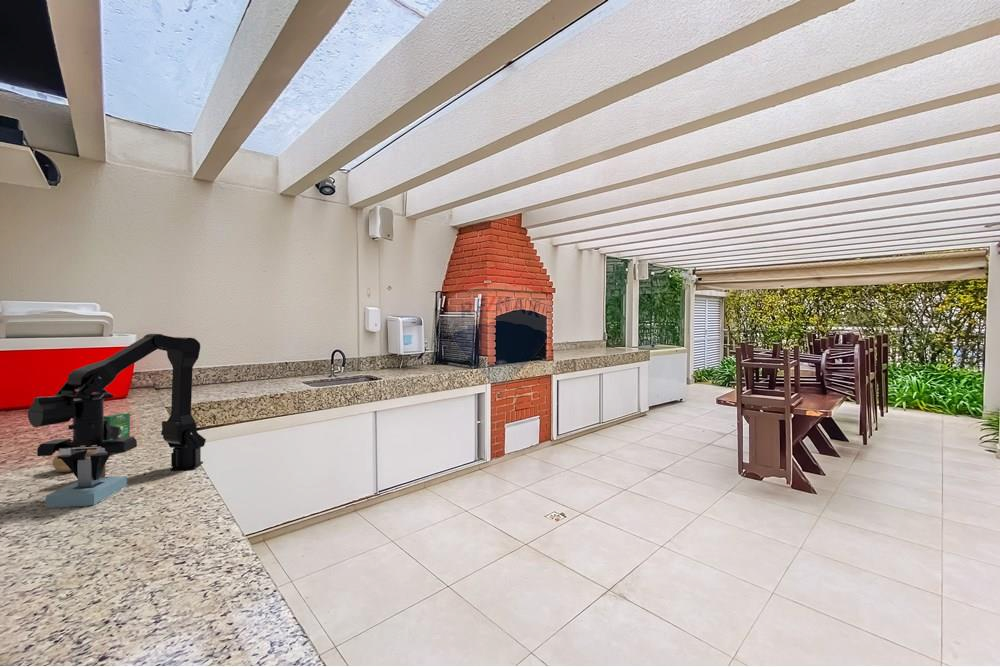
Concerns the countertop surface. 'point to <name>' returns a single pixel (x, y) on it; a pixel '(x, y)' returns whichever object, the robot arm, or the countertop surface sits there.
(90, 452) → the round peg
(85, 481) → the square peg
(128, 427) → the coffee box
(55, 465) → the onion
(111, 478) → the socket board
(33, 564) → the countertop surface
